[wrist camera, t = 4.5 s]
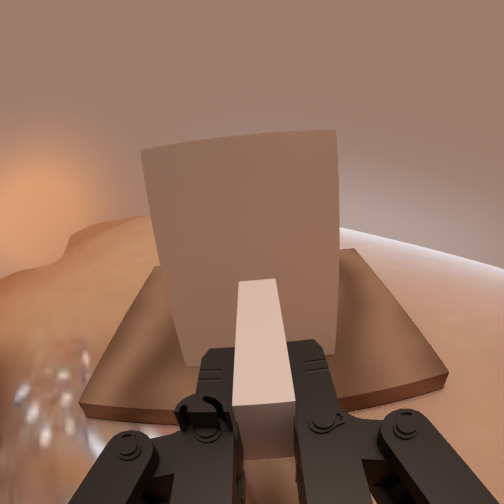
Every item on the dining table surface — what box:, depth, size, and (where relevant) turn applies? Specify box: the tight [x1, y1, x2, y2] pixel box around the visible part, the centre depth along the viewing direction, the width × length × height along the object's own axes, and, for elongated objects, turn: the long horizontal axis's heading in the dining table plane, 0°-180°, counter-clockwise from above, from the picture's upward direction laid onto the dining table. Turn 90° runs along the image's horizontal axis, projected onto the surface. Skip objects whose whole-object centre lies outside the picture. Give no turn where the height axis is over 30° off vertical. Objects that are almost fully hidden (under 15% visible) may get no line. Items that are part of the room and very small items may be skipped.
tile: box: [140, 130, 339, 366], centre depth 18 cm, size 10×2×14 cm, turn 91°
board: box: [78, 248, 449, 425], centre depth 27 cm, size 24×22×2 cm
